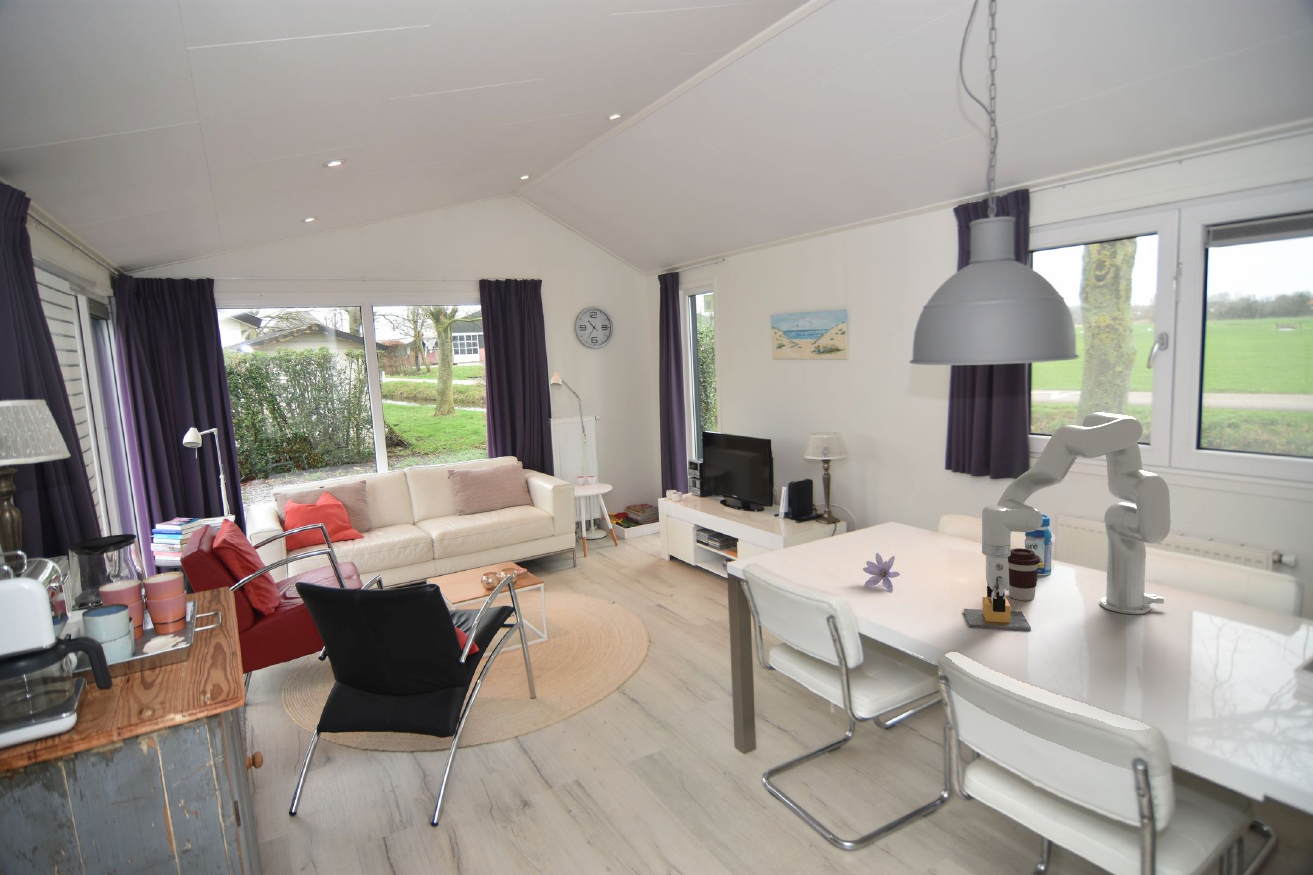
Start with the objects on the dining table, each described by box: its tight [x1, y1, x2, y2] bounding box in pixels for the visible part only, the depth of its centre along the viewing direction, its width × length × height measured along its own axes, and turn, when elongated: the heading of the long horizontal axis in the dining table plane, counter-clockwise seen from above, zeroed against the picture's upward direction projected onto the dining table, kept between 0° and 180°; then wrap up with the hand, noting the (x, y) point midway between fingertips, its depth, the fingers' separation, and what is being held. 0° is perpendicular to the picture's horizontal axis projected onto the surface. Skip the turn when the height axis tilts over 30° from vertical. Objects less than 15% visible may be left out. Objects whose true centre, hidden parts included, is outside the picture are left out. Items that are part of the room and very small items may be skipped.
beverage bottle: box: [1024, 513, 1053, 577], centre depth 243 cm, size 8×8×20 cm
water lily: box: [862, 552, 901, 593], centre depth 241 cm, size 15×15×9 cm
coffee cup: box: [1008, 547, 1040, 602], centre depth 222 cm, size 10×10×15 cm
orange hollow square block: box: [981, 596, 1011, 622], centre depth 206 cm, size 6×6×5 cm
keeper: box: [963, 591, 1032, 632], centre depth 206 cm, size 16×12×9 cm
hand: (995, 605), depth 206 cm, fingers open, 9 cm apart
